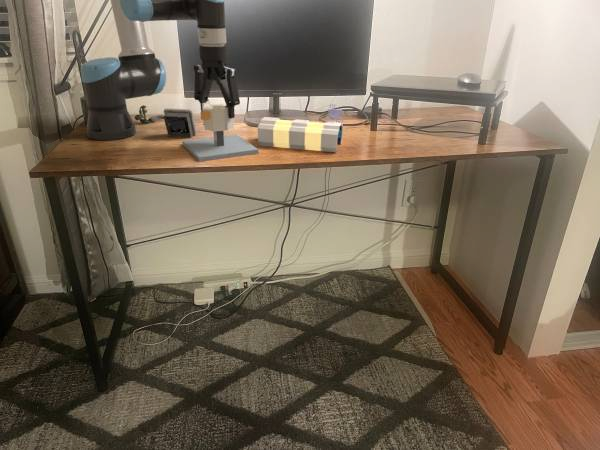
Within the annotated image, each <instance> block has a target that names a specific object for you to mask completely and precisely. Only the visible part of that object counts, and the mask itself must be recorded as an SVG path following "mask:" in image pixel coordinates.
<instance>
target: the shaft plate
mask: <svg viewBox="0 0 600 450" xmlns="http://www.w3.org/2000/svg"><path fill="white" fill-rule="evenodd" d="M212 132H213V136H211V137H204V138H203V137H202V138H193V139H187V140H182V142H181V143H182V146H183V147H185V148H186V149H187V150H188V152H189V153H191V155H192V156H194V157H195V158H196V160H197V161H198V162H205V161H206V160H207V161H213V160H220V159H226V158H227V159H229V158H234V157H240V156H248V155H253V154H254V155H255V154H259V148H257V147H255V146H254V145H253V144H251V143H250V142H248V141H247V140H246V139H244V138H243V137H242V136H240V135H238V134H237V133H236V134H228V135H225V133H224V131H212Z"/></svg>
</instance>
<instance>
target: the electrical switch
mask: <svg viewBox="0 0 600 450" xmlns="http://www.w3.org/2000/svg"><path fill="white" fill-rule="evenodd" d="M163 117H164V119H163V121H164V123H165V129H166V132H167V136H168V138H182V139H183V138H186V139H191V138H192V137H194V136H196V135H197V128H196V123H195V118H194V114H193V110H192V109H187V108H185V109H184V108H169V107H167V108H165V109H164V110H163Z"/></svg>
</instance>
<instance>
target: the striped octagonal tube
mask: <svg viewBox="0 0 600 450" xmlns="http://www.w3.org/2000/svg"><path fill="white" fill-rule="evenodd" d="M342 113H343V110H341V109H339V107H338V106H337V107H336V104H335V103H330V104H329V108H328V114H329V115H327V116H326V118H327V119H326V120H328V121H325V122H312V121H311V120H308V119H297V118H295V119H294V120H287V119H286V120H284V119H281V118H280V117H267V116H264V117H262V118H261V119H260V121H259V123H258V126H257V143H258V145H259V146H264V147H273V148H274V147H275V148H276V147H277V148H283V149H286V148H287V149H294V150H295V149H296V150H307V151H308V150H309V151H318V152H319V151H320V152H327V153H328V152H329V153H331V152H332V153H338V146H341V145H342V142H343V134H344V133H343V130H344V129H343V128H344V126H343V122H344V117H342ZM338 119H339V120H338Z"/></svg>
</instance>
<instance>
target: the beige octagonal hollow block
mask: <svg viewBox="0 0 600 450" xmlns="http://www.w3.org/2000/svg"><path fill="white" fill-rule="evenodd" d="M225 106H227V105H226V104H210V105H207V106H203V112H201V111H200V113H199V114H200V120H201V121H203V120H204V125H203V126H204V130H205V131H211V132H213V131H225V132H226V131H227V130H226V124H225V109H224V107H225Z"/></svg>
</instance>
